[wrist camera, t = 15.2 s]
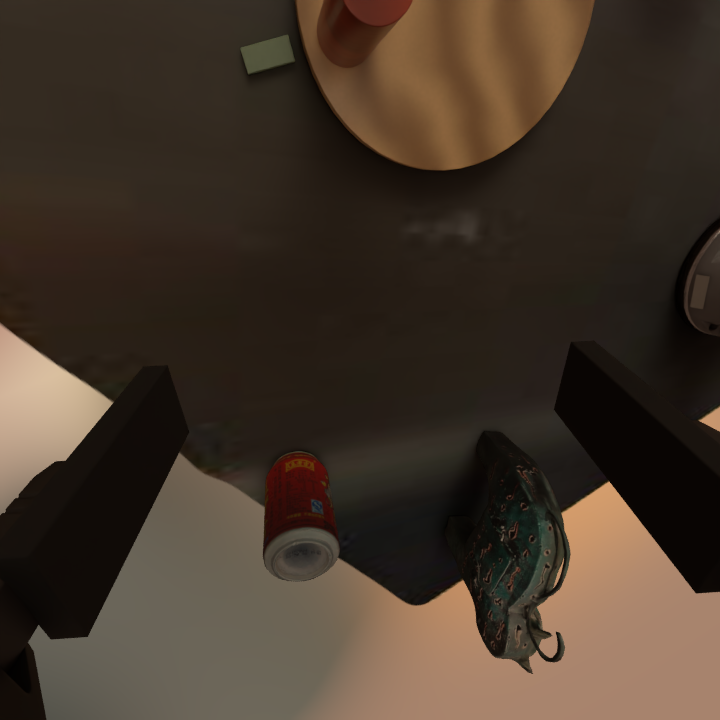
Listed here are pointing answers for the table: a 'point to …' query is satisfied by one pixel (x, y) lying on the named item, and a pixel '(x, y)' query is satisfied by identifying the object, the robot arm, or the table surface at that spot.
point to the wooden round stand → (441, 71)
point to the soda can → (299, 519)
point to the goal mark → (267, 54)
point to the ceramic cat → (511, 552)
